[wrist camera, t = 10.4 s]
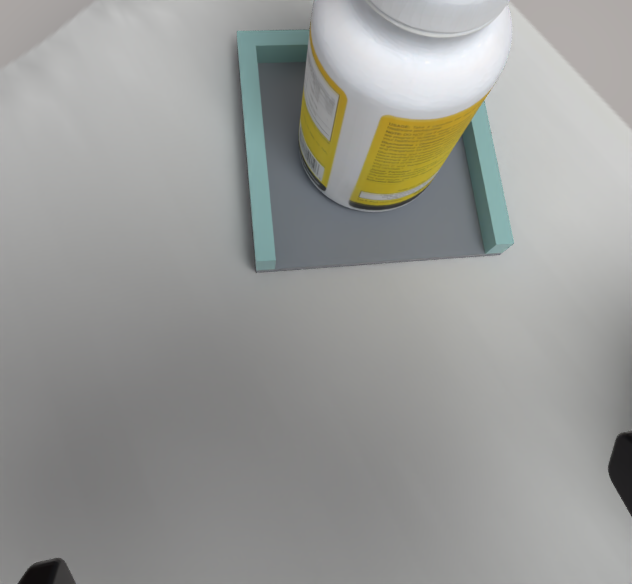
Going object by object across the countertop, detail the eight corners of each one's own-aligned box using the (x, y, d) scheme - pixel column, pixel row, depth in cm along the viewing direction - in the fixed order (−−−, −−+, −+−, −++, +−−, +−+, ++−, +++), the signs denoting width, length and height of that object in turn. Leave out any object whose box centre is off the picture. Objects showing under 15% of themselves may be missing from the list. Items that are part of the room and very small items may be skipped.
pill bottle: (463, 164, 26) (618, -48, 15) (361, 246, 24) (447, 78, 13) (370, 67, 27) (450, -203, 16) (266, 140, 25) (271, -102, 14)
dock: (499, 254, 25) (514, 243, 24) (256, 272, 24) (255, 261, 22) (457, 48, 28) (468, 26, 26) (238, 53, 26) (236, 30, 25)
